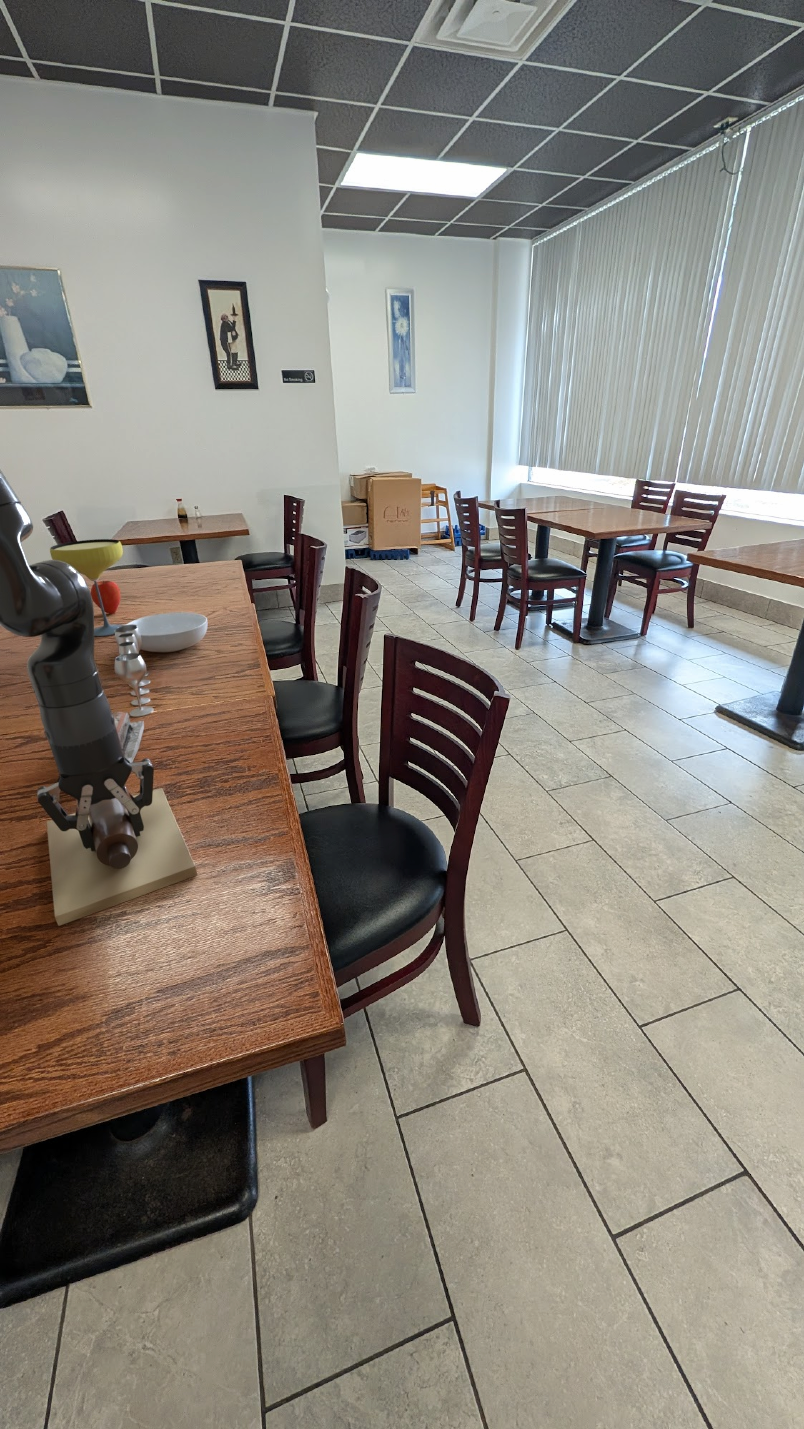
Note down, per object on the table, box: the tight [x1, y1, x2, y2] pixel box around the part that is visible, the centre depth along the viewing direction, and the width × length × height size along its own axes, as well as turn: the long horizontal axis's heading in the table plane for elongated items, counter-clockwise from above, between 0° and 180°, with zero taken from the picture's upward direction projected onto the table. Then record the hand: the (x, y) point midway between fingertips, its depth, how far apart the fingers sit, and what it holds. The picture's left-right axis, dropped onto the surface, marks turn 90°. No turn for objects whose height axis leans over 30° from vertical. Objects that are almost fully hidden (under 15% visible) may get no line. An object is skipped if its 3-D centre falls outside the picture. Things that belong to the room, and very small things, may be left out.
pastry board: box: [46, 787, 198, 927], centre depth 80 cm, size 16×22×2 cm
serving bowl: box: [125, 611, 208, 653], centre depth 157 cm, size 21×21×7 cm
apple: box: [90, 580, 121, 614], centre depth 188 cm, size 9×8×11 cm
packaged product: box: [112, 711, 145, 763], centre depth 104 cm, size 18×5×10 cm
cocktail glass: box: [49, 538, 124, 638], centre depth 168 cm, size 18×18×25 cm
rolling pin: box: [89, 798, 138, 869], centre depth 79 cm, size 16×5×5 cm, turn 31°
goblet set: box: [114, 624, 154, 718], centre depth 127 cm, size 28×6×13 cm, turn 23°
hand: (115, 840), depth 79 cm, fingers closed on rolling pin, 4 cm apart
